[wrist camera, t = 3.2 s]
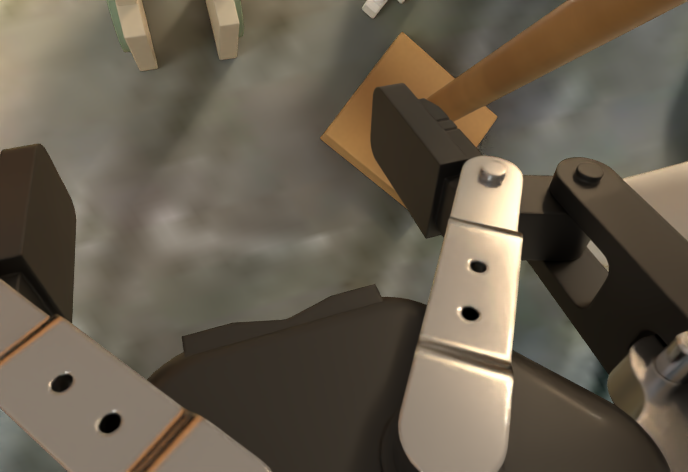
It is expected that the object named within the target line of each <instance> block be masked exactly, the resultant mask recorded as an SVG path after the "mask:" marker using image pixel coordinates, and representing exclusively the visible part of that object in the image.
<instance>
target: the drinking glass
mask: <svg viewBox="0 0 688 472" xmlns="http://www.w3.org/2000/svg"><path fill="white" fill-rule="evenodd" d="M623 180H624V181H625V182H626V183H627V184H628V185H629V186H630V187H631V188H632V189H633V190H635V191H636V192H637V193H638V194H639V195H640V196H641V197H642V198H643V199H644V200H645V201H646V202H647V203H648V204H649V205H650V206H651V207H652V208H654V209H655V210H656V211H657V212H658V213H659V214H660V215H661V216H662V217H663V218H664V219H665V220H666V221H667V222H668V223H669V224H670V225H671V226H673V227H674V228H675V229H676V230H677V231H678V232H679V233H680V234H681V235H682V236H683V237H684V238H685V239H686V240H687V241H688V161H687V162H683V163H680V164H676V165H672V166H668V167H665V168H661V169H657V170H653V171H649V172H646V173H642V174H638V175H634V176H630V177H627V178H623ZM587 248H588V249H589V250H590V251H591V252H592V253H593V255H594V256H595V257H596V258H597V259H598V261H599V262H600V263H601V264H602V265H603V266H608V262H607V259H606V258H605V256H604V255H603V253H602V252H601V251H600V250H599V249H598V248H597V246H596V245H595V244H594V243H593V242H592V241H591V240H590V242H589V243H588V245H587Z"/></svg>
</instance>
